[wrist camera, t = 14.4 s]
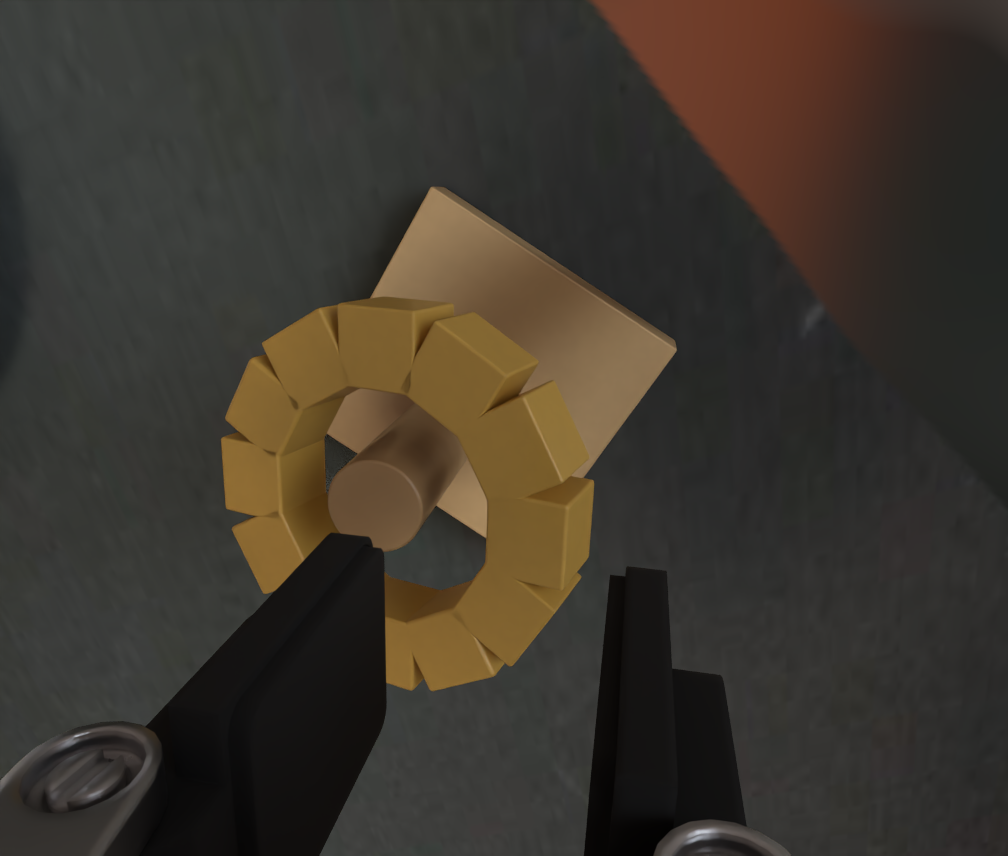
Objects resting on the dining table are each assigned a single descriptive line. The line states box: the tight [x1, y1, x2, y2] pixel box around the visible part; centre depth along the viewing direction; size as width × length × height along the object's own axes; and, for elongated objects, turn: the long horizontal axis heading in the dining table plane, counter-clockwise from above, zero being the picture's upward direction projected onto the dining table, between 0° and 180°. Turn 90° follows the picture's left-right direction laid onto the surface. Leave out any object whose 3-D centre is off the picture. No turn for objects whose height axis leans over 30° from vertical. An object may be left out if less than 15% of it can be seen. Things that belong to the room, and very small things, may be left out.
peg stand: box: [327, 187, 677, 552], centre depth 20 cm, size 9×9×12 cm
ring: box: [221, 296, 594, 691], centre depth 16 cm, size 8×8×2 cm
